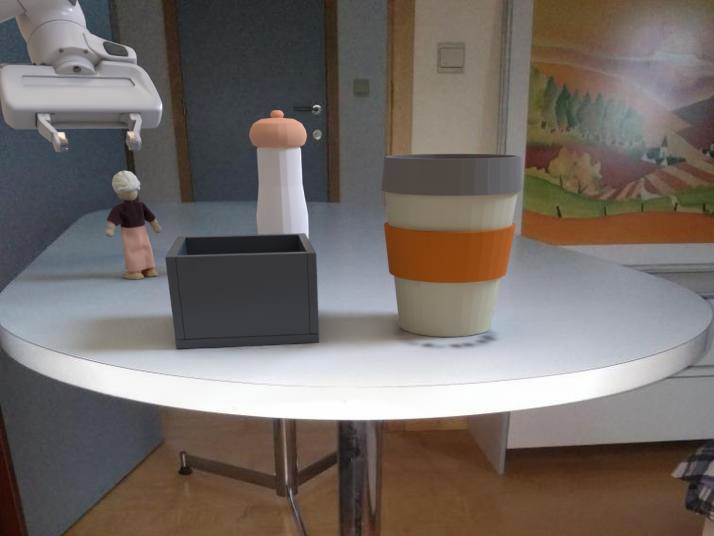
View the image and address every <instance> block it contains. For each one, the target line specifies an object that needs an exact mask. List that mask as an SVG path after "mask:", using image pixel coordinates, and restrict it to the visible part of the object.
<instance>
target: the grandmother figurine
mask: <svg viewBox="0 0 714 536" xmlns="http://www.w3.org/2000/svg"><path fill="white" fill-rule="evenodd" d="M111 186H112V188H113V191H114V192H115V193H116V197H118V199H119V200H120V201H122V202H121V203H119V204H116V205H115V206H114V207H112V208H111V210H110V212H109V214H108V215H107V218H106V226H105V227H106V228H105V230H104V235H105V236H106V237H108V238H112V237H114V235H115V230H116V227H117V226H119V227H120V236H121V241H122V246H123V258H124V267H125V270H126V271H125V273H124V277H123V278H124V279H126V280H127V279H128V280H142V279H144V278H145V277H148V278H151V277H157V276H159V274H158V272H157V271H156V270H155V267H156V265H155V257H154V253H153V249H152V245H151V242H150V237H149V234H148V231H147V227H146V222H147V223H149V226H150V227H151V228H152V230H153V232H154V233H155V234H160V233H161V232H162V226H160V224H159V222H158V220H157V218H156V216H155V214H154V213H153V211H151V210H150V208H149V207H148V206H147V205H146V203H144V202H143V201H138V200H136V199H137V197H138V193H139V191H140V190H141V187H140V186H141V182H140V181H139V179H138V177H137V176H136V175H135V174H134V173H133V172H132V171H130V170H129V171H128V170H122V171H119V172H117V173H116V174H114V176H113V177H112V182H111Z"/></svg>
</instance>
